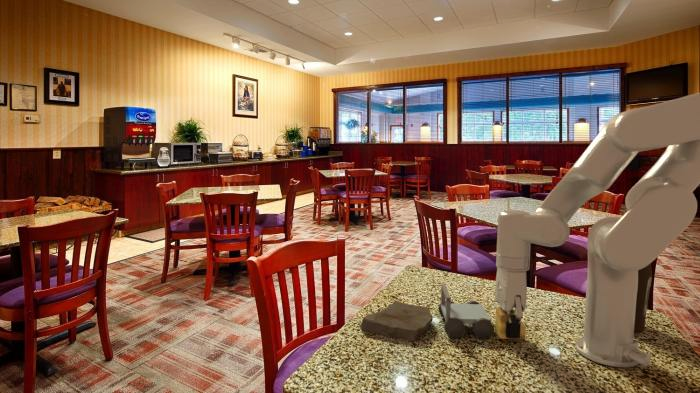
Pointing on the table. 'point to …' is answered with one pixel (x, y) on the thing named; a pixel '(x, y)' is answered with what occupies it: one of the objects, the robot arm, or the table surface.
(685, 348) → the table surface
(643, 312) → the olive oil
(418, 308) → the marble piece
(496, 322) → the orange block
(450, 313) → the trolley
